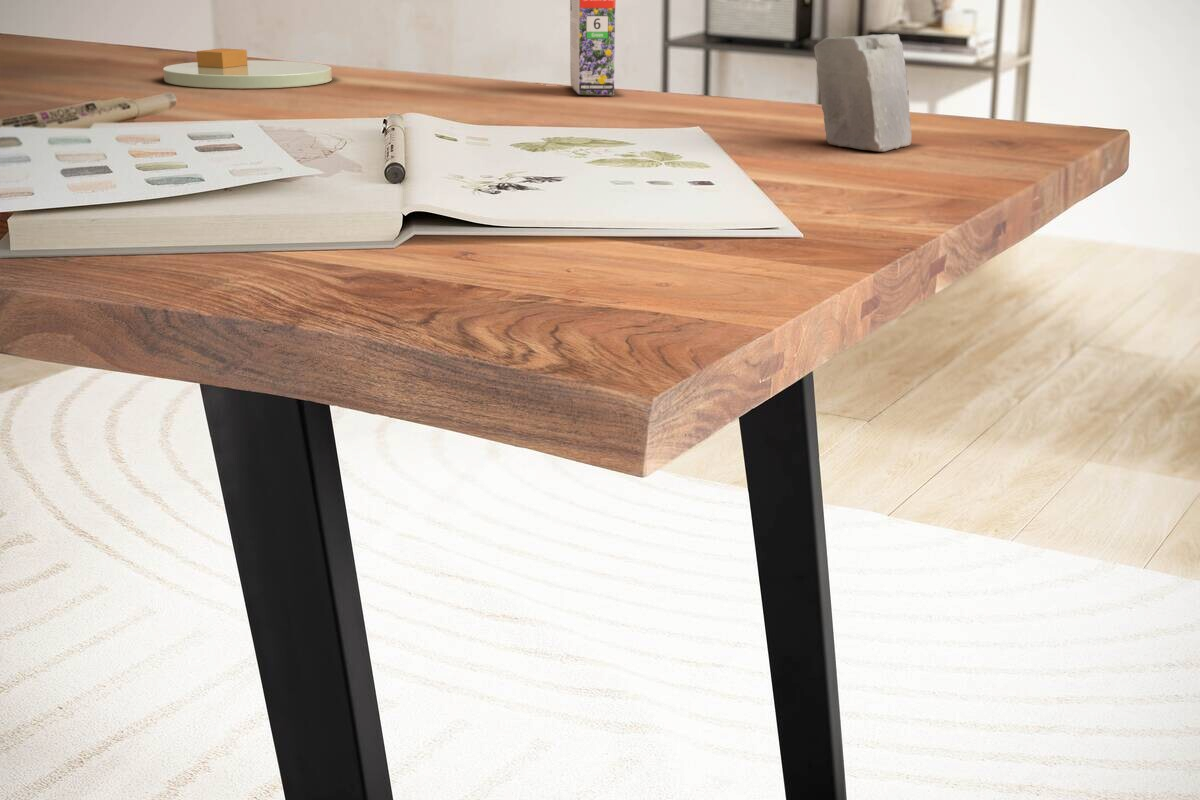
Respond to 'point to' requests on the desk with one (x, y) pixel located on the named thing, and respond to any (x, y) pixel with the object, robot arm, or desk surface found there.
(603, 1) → the ink box
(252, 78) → the plate
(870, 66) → the mineral specimen
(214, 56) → the orange brown block
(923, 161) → the desk surface
